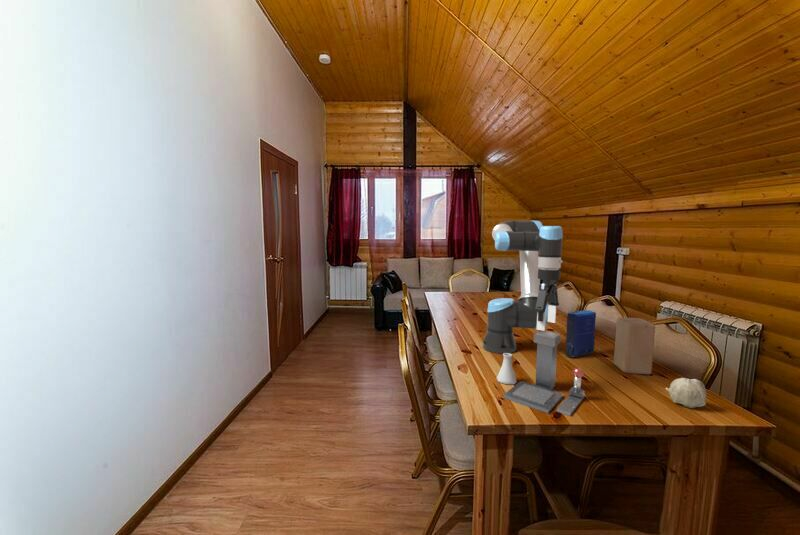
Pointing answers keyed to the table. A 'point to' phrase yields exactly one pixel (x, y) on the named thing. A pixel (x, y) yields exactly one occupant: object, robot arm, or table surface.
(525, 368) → the table surface
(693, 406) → the garlic bulb
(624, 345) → the wooden block
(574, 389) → the lever
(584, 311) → the book
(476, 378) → the table surface
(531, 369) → the table surface
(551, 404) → the base
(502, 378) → the flask
